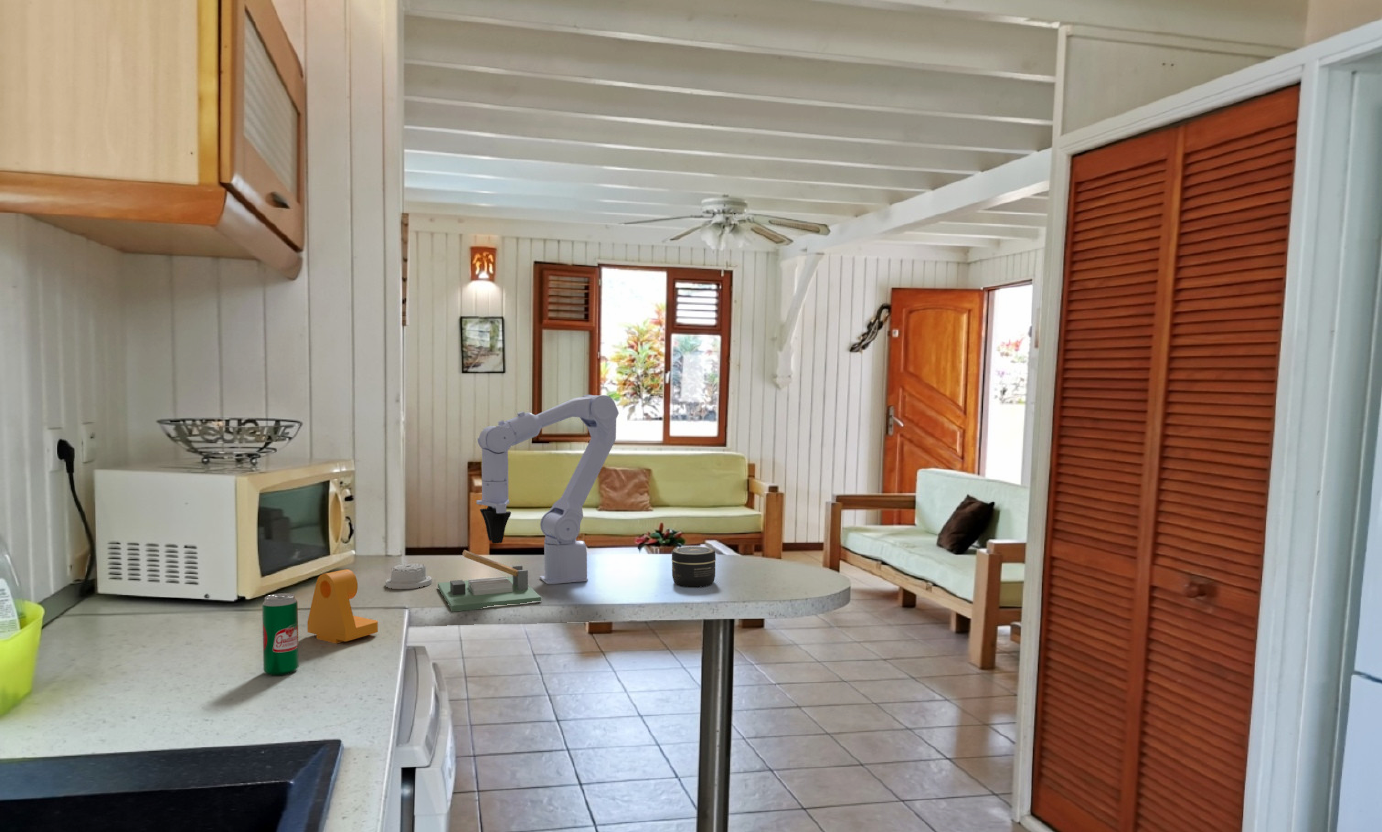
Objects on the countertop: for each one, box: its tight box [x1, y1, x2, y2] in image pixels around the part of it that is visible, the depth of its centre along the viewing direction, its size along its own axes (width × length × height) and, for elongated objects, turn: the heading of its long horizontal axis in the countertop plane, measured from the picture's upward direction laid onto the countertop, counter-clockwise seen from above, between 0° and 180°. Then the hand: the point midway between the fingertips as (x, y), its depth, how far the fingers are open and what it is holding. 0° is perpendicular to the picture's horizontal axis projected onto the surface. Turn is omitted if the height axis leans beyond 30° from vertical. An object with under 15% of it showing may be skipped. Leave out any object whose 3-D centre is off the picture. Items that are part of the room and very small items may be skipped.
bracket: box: [306, 568, 379, 644], centre depth 160 cm, size 11×7×12 cm, turn 58°
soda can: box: [261, 592, 300, 677], centre depth 140 cm, size 5×5×12 cm
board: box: [437, 564, 542, 613], centre depth 191 cm, size 18×22×5 cm
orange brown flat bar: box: [462, 549, 518, 577], centre depth 191 cm, size 14×4×1 cm, turn 112°
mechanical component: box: [385, 563, 433, 590], centre depth 201 cm, size 10×4×10 cm
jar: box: [671, 546, 717, 589], centre depth 202 cm, size 10×10×8 cm
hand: (495, 541), depth 197 cm, fingers open, 3 cm apart
